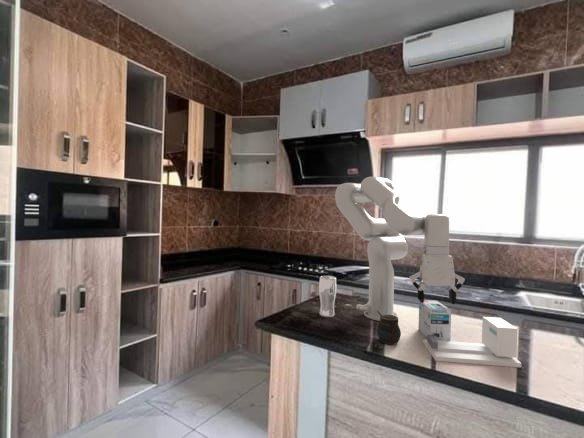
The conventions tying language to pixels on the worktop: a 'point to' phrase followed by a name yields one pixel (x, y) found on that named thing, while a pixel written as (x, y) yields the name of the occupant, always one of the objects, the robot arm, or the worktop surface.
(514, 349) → the mounted module
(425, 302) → the light bulb box
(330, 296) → the beer glass
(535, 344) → the worktop surface
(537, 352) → the worktop surface
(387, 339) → the mate gourd
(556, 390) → the worktop surface
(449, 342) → the mounting plate
